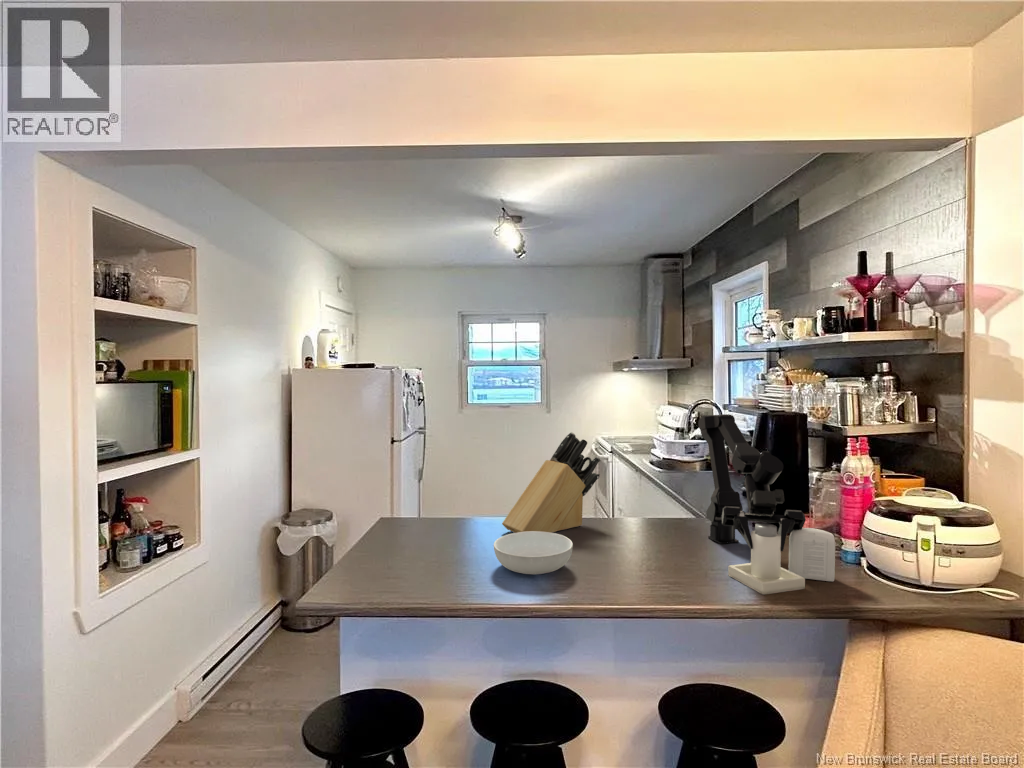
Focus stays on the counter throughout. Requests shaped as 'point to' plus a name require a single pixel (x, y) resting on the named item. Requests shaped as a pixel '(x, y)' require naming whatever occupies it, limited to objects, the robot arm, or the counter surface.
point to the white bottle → (766, 552)
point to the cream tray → (766, 580)
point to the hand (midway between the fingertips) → (766, 549)
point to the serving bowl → (533, 551)
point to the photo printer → (812, 554)
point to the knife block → (555, 491)
